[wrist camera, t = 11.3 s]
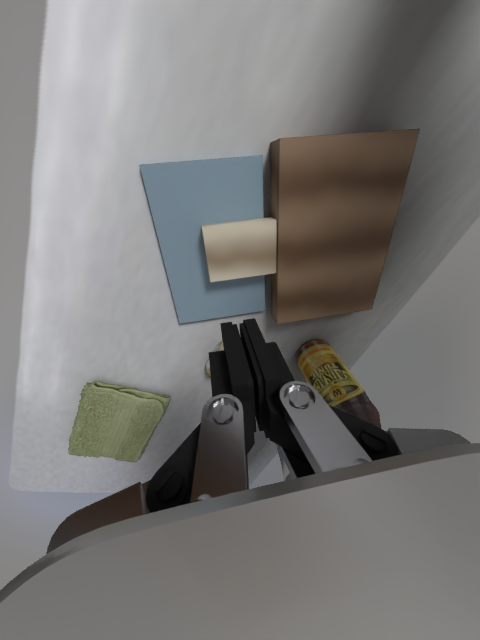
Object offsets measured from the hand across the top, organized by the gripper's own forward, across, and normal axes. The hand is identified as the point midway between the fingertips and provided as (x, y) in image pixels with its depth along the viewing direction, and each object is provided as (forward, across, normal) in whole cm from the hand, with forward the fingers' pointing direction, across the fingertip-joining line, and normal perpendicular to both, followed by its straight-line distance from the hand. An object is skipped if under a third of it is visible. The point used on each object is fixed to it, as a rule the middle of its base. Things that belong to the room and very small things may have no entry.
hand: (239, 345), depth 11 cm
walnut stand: (+19, -14, 0) cm, 24 cm away
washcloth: (+20, +20, +27) cm, 39 cm away
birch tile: (+19, -3, 0) cm, 19 cm away
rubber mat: (+19, 0, 0) cm, 19 cm away
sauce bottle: (+19, -14, +19) cm, 31 cm away
